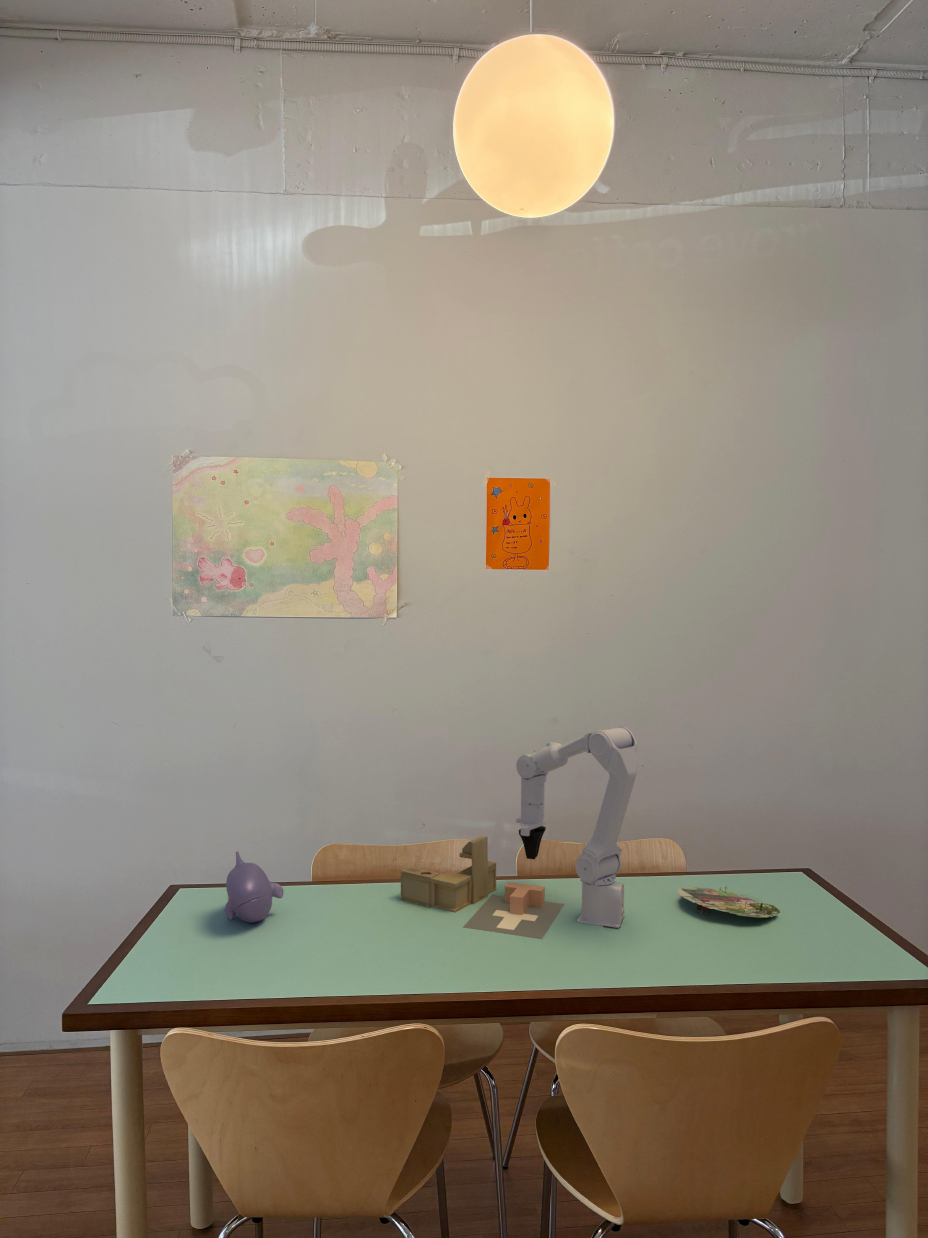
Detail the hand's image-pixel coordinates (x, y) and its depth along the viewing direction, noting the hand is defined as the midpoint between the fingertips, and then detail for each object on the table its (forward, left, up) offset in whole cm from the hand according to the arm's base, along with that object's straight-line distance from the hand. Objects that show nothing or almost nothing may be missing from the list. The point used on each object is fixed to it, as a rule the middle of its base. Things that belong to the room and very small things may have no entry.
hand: (532, 857), depth 204 cm
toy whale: (+56, +35, -10) cm, 67 cm away
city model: (-46, -8, -10) cm, 48 cm away
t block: (0, +10, -9) cm, 13 cm away
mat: (0, +15, -9) cm, 17 cm away
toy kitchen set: (+19, +7, -10) cm, 22 cm away
